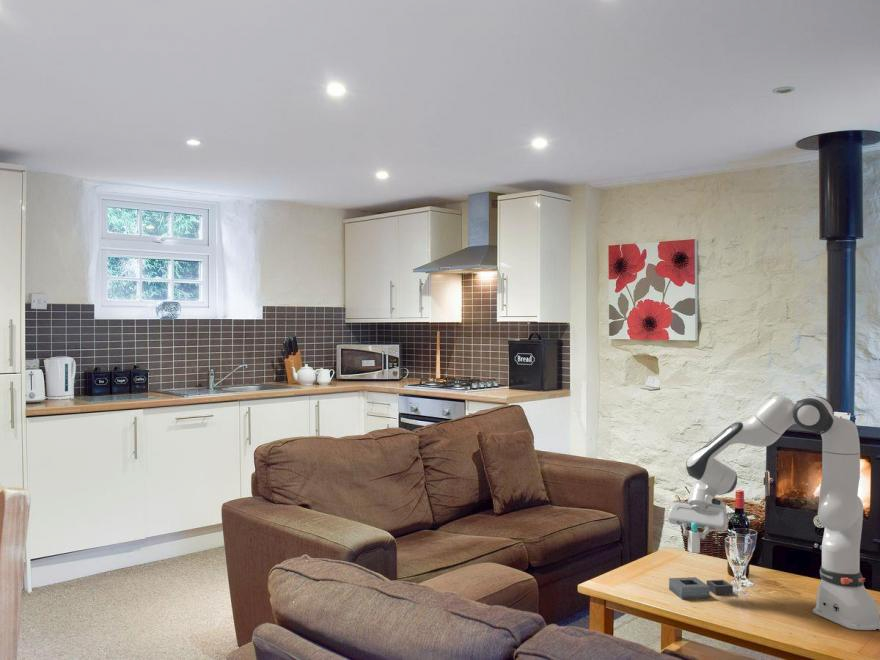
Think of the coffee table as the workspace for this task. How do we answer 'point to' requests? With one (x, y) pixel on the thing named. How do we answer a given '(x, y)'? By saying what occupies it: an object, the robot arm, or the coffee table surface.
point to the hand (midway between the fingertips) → (693, 536)
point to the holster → (720, 587)
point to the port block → (689, 588)
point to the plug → (693, 539)
